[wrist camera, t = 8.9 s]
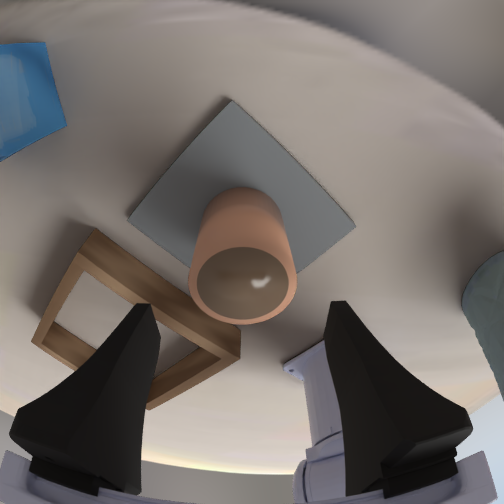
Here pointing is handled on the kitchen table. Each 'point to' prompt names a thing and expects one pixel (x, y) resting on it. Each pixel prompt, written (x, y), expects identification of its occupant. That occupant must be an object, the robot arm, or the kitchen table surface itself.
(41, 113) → the perfume bottle
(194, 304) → the wooden square frame
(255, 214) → the terracotta pot
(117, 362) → the robot arm
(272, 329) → the kitchen table surface
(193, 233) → the slate mat
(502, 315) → the green pot
